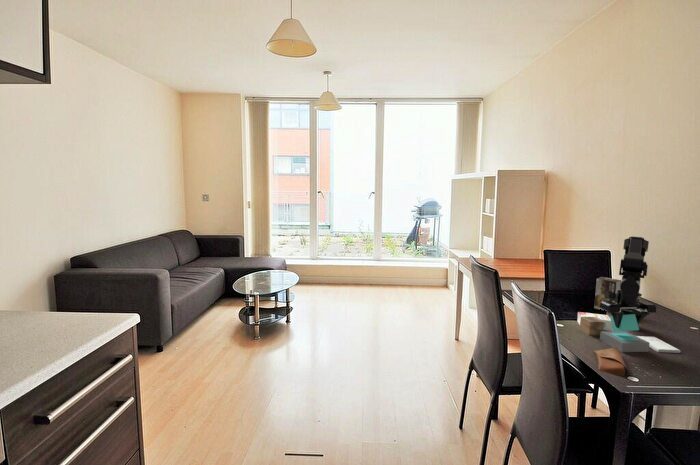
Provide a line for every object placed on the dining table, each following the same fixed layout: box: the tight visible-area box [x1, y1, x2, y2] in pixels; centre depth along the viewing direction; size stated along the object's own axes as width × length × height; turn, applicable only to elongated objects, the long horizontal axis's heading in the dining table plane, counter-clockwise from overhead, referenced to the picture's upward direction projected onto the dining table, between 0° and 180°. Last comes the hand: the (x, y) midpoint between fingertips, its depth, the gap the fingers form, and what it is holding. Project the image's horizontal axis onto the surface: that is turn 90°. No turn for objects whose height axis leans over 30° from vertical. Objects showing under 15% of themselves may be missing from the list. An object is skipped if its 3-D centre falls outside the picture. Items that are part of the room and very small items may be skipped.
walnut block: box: [579, 317, 604, 336], centre depth 157 cm, size 6×6×6 cm
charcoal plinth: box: [599, 330, 650, 353], centre depth 144 cm, size 11×11×4 cm
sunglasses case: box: [592, 347, 630, 377], centre depth 129 cm, size 18×7×7 cm
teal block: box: [609, 314, 640, 332], centre depth 144 cm, size 6×6×6 cm
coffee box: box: [593, 276, 622, 312], centre depth 186 cm, size 9×6×16 cm
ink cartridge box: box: [577, 311, 613, 331], centre depth 163 cm, size 9×5×15 cm
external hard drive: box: [636, 335, 682, 354], centre depth 145 cm, size 2×8×12 cm
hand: (625, 327), depth 143 cm, fingers closed on teal block, 6 cm apart
